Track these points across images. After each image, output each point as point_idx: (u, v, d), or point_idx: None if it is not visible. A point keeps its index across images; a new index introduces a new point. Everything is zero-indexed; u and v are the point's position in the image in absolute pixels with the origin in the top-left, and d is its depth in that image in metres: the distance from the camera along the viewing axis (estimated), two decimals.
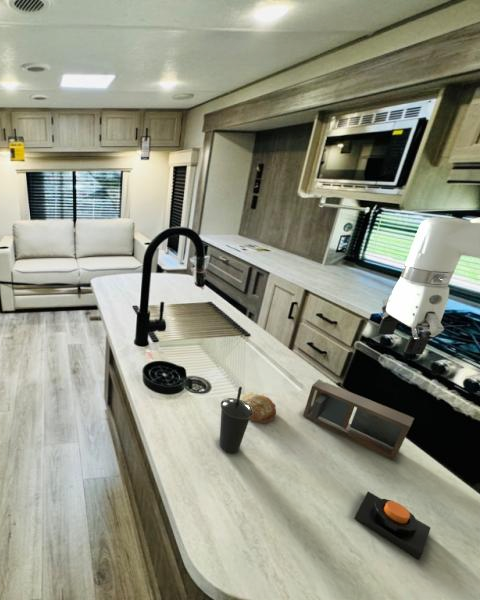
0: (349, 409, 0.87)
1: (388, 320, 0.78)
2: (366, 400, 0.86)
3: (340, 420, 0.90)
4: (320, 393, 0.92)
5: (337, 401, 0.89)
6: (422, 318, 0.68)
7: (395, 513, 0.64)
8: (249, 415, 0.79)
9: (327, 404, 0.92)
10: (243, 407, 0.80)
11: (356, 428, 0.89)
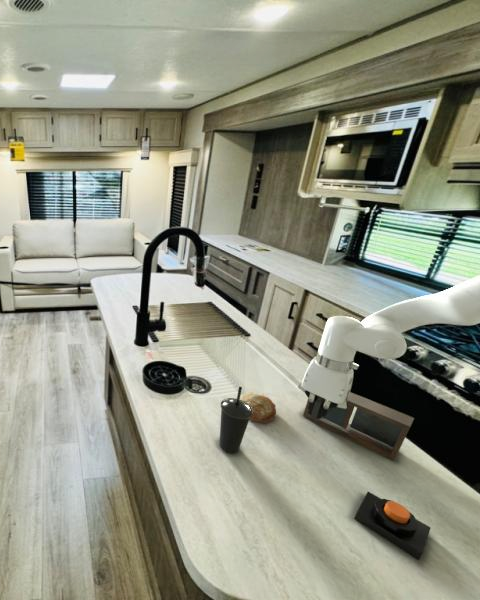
0: (349, 409, 0.87)
1: None
2: (366, 400, 0.86)
3: (340, 420, 0.90)
4: None
5: None
6: None
7: (395, 513, 0.64)
8: (249, 415, 0.79)
9: None
10: (243, 407, 0.80)
11: (356, 428, 0.89)
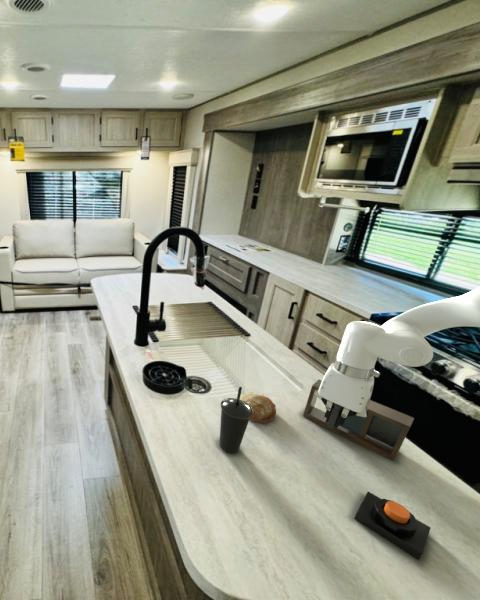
0: (368, 417, 0.84)
1: None
2: None
3: (358, 428, 0.87)
4: None
5: None
6: None
7: (395, 513, 0.64)
8: (249, 415, 0.79)
9: None
10: (243, 407, 0.80)
11: None
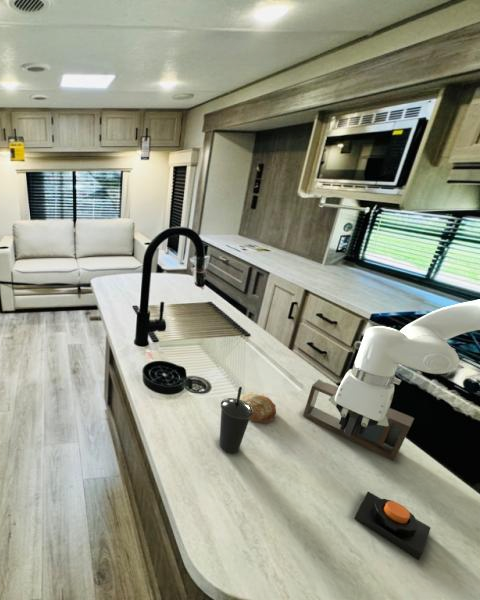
0: (387, 426, 0.81)
1: (347, 417, 0.84)
2: None
3: (376, 436, 0.84)
4: None
5: None
6: None
7: (395, 513, 0.64)
8: (249, 415, 0.79)
9: (361, 419, 0.86)
10: (243, 407, 0.80)
11: None
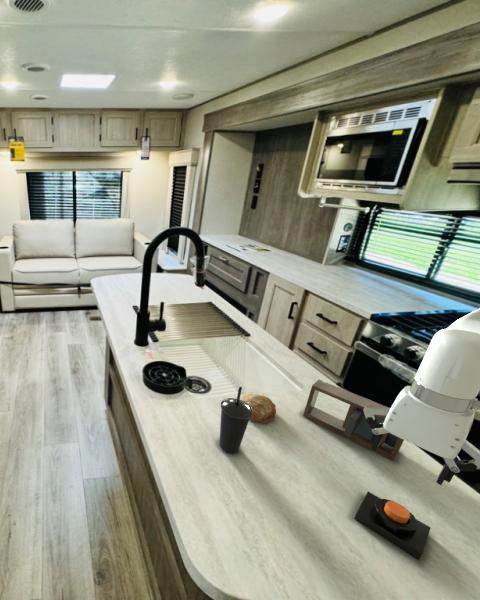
0: None
1: (381, 435, 0.65)
2: (366, 400, 0.86)
3: None
4: (353, 407, 0.86)
5: None
6: (460, 449, 0.56)
7: (395, 513, 0.64)
8: (249, 415, 0.79)
9: (361, 419, 0.86)
10: (243, 407, 0.80)
11: None
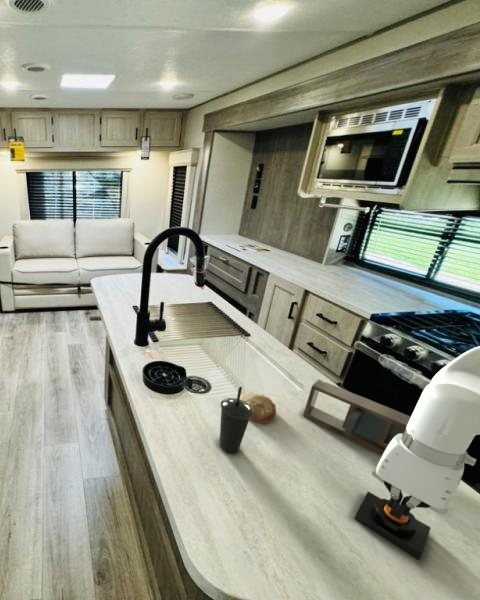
0: (387, 426, 0.81)
1: (400, 500, 0.63)
2: (366, 400, 0.86)
3: (376, 436, 0.84)
4: (353, 407, 0.86)
5: (373, 417, 0.83)
6: None
7: (393, 516, 0.64)
8: (249, 415, 0.79)
9: (361, 419, 0.86)
10: (243, 407, 0.80)
11: None
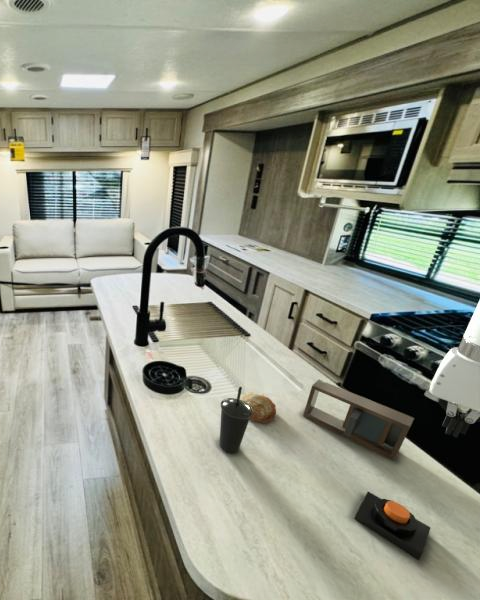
0: (387, 426, 0.81)
1: (457, 417, 0.61)
2: (366, 400, 0.86)
3: (376, 436, 0.84)
4: (353, 407, 0.86)
5: (373, 417, 0.83)
6: None
7: (395, 513, 0.64)
8: (249, 415, 0.79)
9: (361, 419, 0.86)
10: (243, 407, 0.80)
11: None
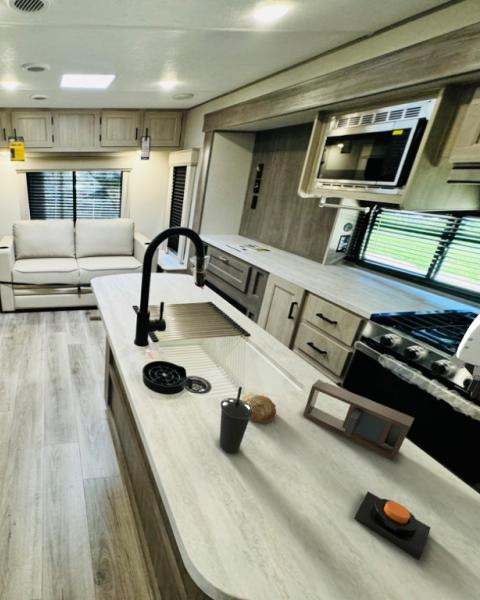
0: (387, 426, 0.81)
1: None
2: (366, 400, 0.86)
3: (376, 436, 0.84)
4: (353, 407, 0.86)
5: (373, 417, 0.83)
6: None
7: (395, 513, 0.64)
8: (249, 415, 0.79)
9: (361, 419, 0.86)
10: (243, 407, 0.80)
11: None
